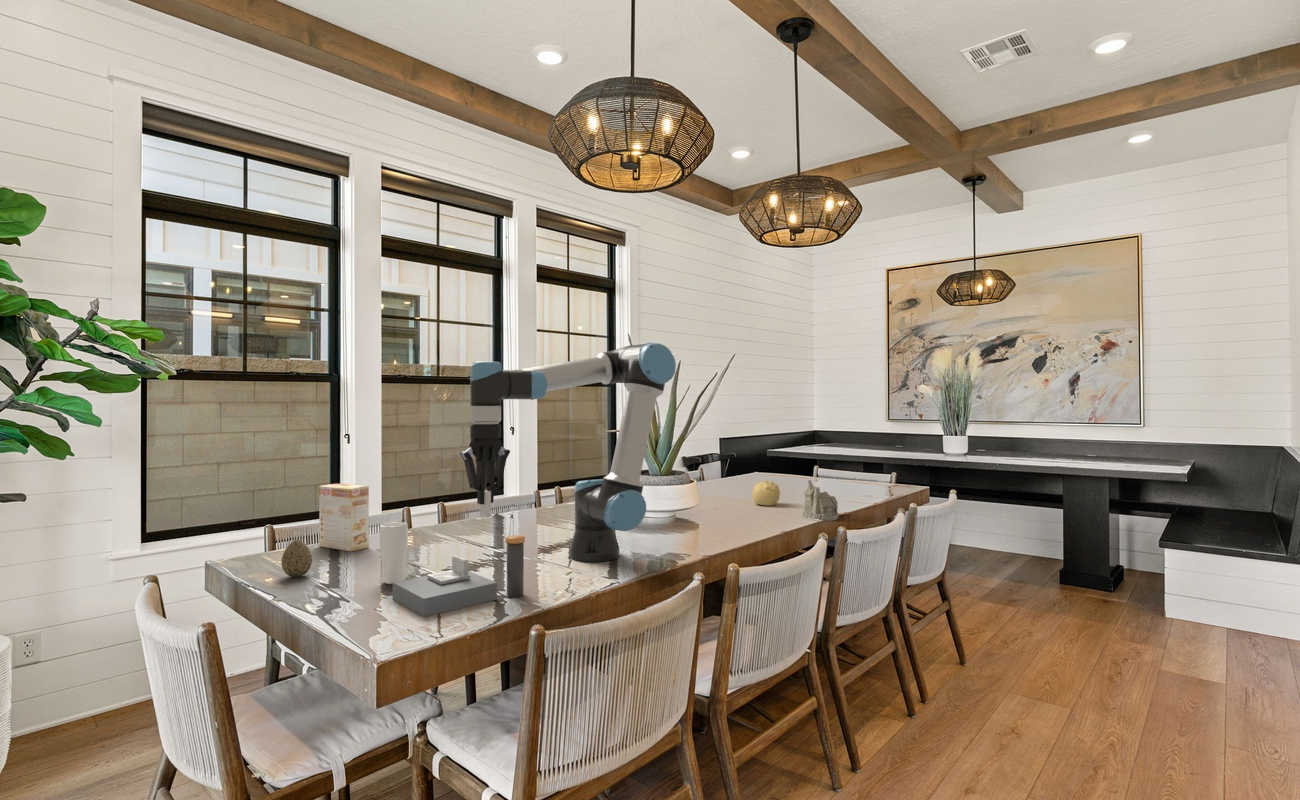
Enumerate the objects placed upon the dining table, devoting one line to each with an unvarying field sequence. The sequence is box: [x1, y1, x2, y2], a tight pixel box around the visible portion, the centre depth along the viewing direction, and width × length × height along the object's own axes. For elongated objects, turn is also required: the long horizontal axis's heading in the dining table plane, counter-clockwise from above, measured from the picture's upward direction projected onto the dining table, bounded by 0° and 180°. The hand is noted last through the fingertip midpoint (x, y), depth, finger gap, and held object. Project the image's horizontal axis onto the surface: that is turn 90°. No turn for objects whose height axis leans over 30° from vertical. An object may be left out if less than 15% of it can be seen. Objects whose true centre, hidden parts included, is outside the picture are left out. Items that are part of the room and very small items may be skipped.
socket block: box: [392, 570, 498, 618], centre depth 157 cm, size 18×17×4 cm
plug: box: [505, 534, 526, 599], centre depth 160 cm, size 5×5×14 cm
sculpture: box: [751, 480, 781, 507], centre depth 290 cm, size 11×12×11 cm
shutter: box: [426, 555, 471, 585], centre depth 159 cm, size 8×8×4 cm
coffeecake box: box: [318, 483, 370, 552], centre depth 209 cm, size 15×7×20 cm, turn 63°
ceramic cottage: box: [802, 479, 840, 522], centre depth 262 cm, size 16×16×15 cm
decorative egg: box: [281, 538, 313, 578], centre depth 175 cm, size 7×7×10 cm
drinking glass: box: [379, 521, 409, 585], centre depth 171 cm, size 7×7×15 cm
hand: (485, 516), depth 166 cm, fingers closed
